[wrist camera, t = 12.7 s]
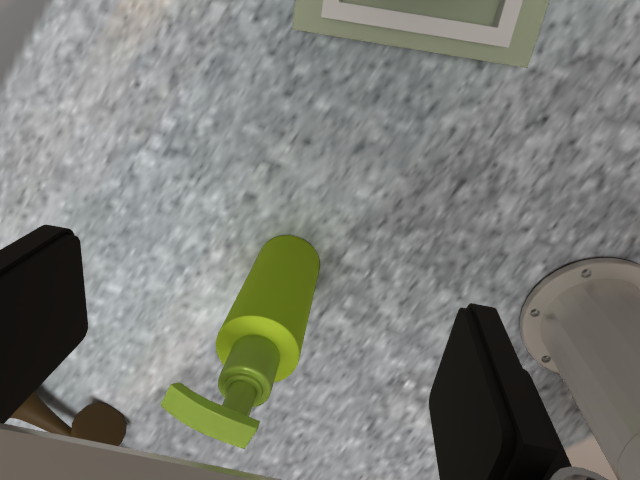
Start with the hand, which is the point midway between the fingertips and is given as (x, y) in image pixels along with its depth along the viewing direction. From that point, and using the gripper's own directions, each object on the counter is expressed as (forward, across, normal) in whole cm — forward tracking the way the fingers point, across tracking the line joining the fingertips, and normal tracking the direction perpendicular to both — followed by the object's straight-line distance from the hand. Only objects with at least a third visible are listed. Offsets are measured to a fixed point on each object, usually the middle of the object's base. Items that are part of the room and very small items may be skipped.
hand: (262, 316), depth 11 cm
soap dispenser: (+28, +3, +14) cm, 32 cm away
